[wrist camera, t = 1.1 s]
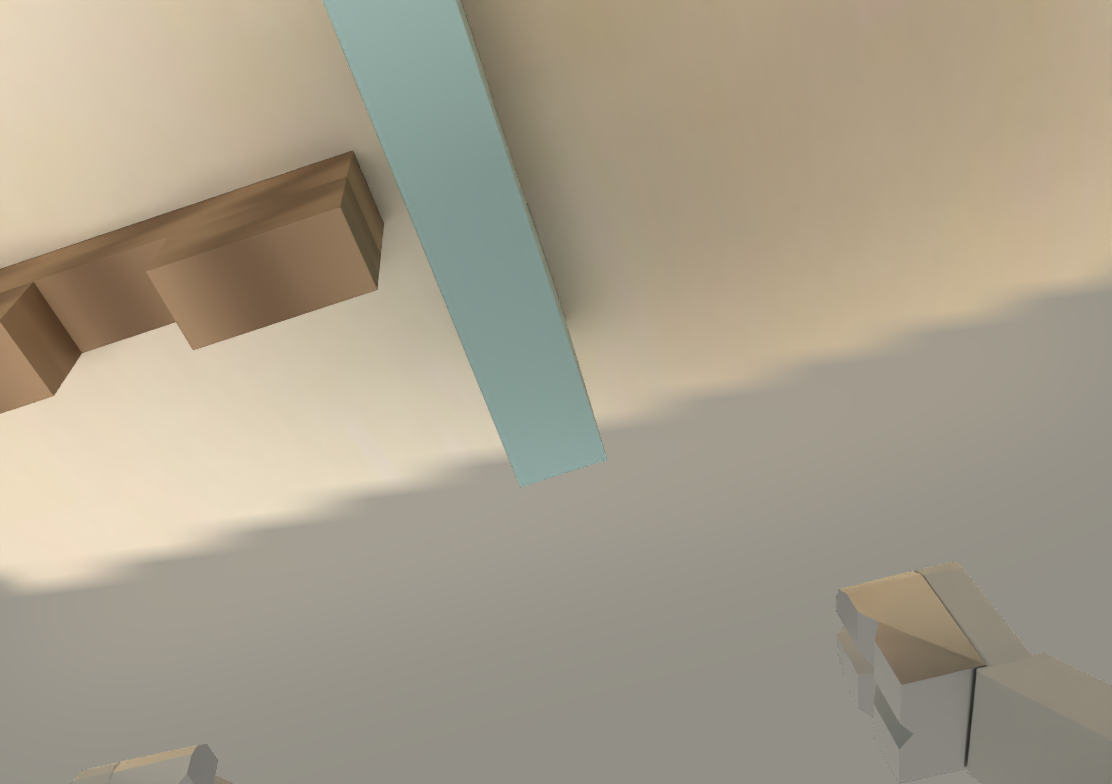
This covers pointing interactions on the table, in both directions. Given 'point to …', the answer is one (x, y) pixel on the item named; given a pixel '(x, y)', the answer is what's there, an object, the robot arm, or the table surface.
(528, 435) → the teal plate
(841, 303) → the table surface
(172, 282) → the walnut notched block
